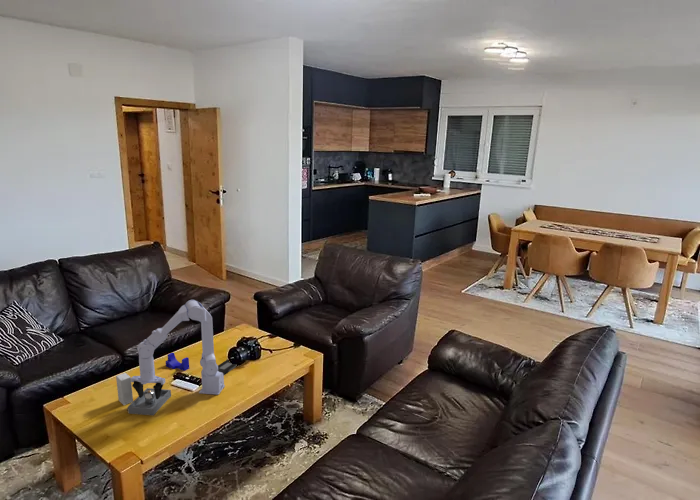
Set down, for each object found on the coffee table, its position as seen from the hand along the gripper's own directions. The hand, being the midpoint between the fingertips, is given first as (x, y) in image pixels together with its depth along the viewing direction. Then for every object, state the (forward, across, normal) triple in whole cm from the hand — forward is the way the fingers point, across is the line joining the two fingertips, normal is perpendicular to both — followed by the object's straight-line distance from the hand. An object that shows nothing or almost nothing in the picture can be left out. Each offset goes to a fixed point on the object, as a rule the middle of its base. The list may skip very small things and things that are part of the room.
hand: (149, 397), depth 195 cm
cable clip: (+4, -4, +33) cm, 34 cm away
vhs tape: (+4, +21, +36) cm, 41 cm away
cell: (+2, 0, 0) cm, 2 cm away
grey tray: (+3, 0, 0) cm, 3 cm away
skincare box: (+4, -12, +1) cm, 13 cm away
